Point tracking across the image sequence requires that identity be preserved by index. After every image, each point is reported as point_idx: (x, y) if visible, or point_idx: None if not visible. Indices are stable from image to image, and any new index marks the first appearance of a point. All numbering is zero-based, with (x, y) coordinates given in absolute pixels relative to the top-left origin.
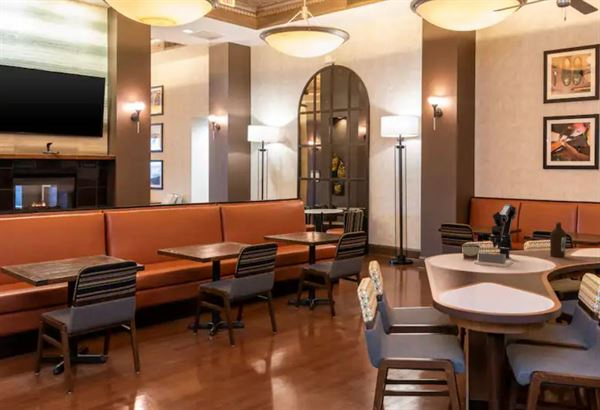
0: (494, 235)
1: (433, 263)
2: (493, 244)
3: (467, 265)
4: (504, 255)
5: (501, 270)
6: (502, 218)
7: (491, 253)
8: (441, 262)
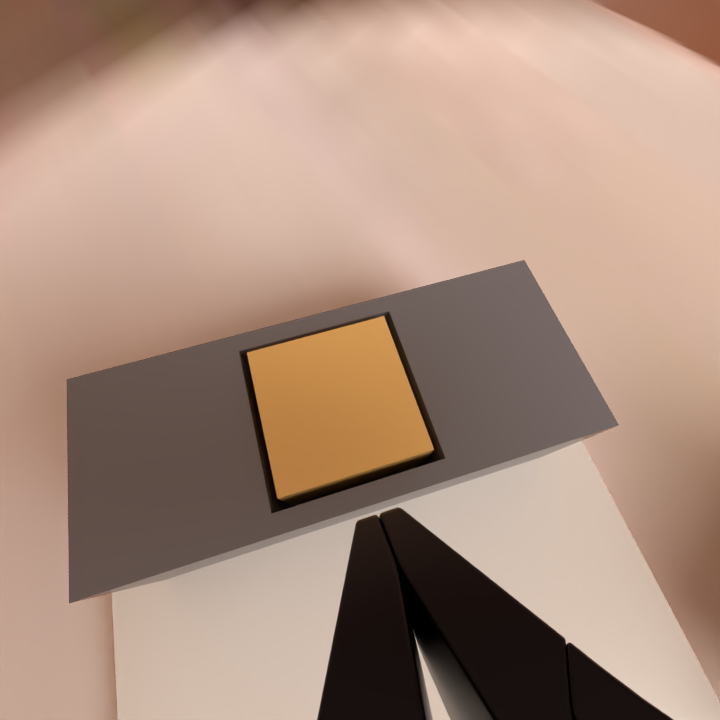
0: None
1: (674, 63)
2: (433, 558)
3: (454, 176)
4: (75, 455)
5: (89, 193)
6: None
7: (324, 352)
8: (700, 133)
